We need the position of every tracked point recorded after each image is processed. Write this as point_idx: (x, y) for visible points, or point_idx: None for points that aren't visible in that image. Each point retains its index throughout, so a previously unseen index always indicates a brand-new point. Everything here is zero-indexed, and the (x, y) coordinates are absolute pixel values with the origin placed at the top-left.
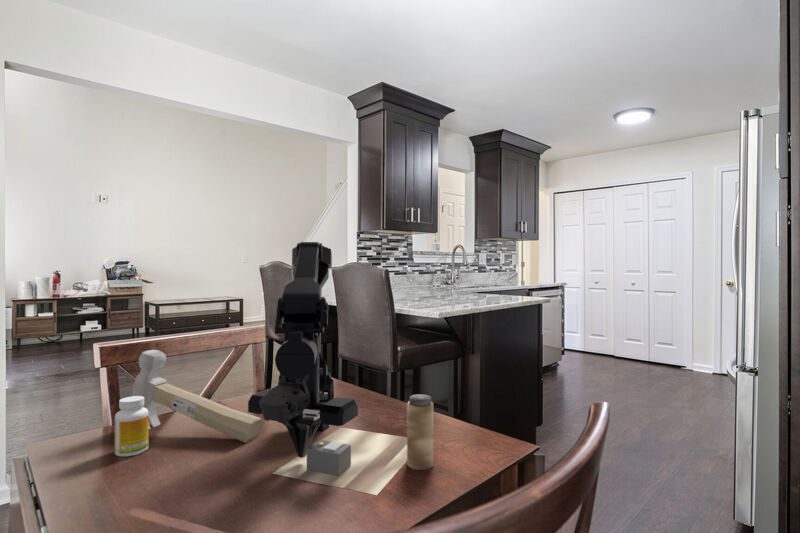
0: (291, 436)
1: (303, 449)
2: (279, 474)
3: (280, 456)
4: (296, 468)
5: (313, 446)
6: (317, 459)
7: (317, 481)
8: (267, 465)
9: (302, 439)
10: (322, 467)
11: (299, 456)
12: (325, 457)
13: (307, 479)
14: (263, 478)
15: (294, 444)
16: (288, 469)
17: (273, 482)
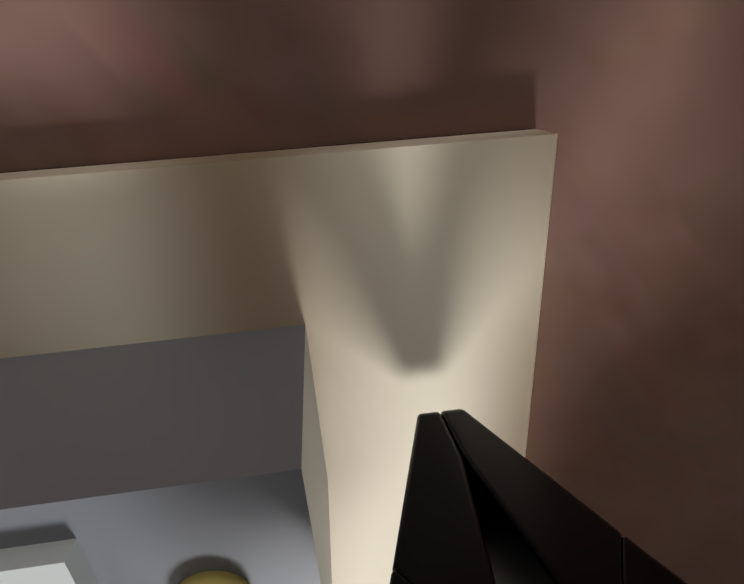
0: (643, 563)
1: (408, 471)
2: (478, 144)
3: (662, 420)
4: (406, 305)
5: (268, 541)
6: (158, 410)
7: (33, 197)
8: (689, 284)
9: (437, 577)
10: (117, 371)
11: (449, 413)
12: (21, 453)
13: (157, 187)
14: (610, 91)
15: (543, 482)
16: (458, 259)
17: (482, 70)
